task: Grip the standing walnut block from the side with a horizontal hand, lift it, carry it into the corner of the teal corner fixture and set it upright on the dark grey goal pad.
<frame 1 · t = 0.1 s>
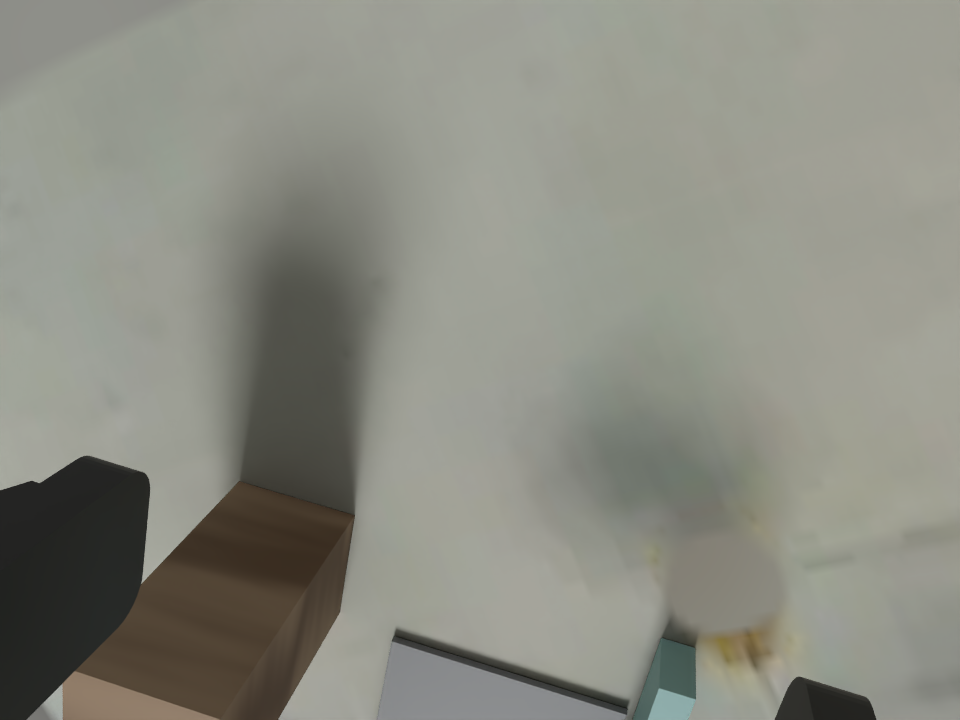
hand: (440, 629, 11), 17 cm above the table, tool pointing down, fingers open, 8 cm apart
walnut block: (290, 548, 33), on the table
teal corner fixture: (417, 716, 34), on the table
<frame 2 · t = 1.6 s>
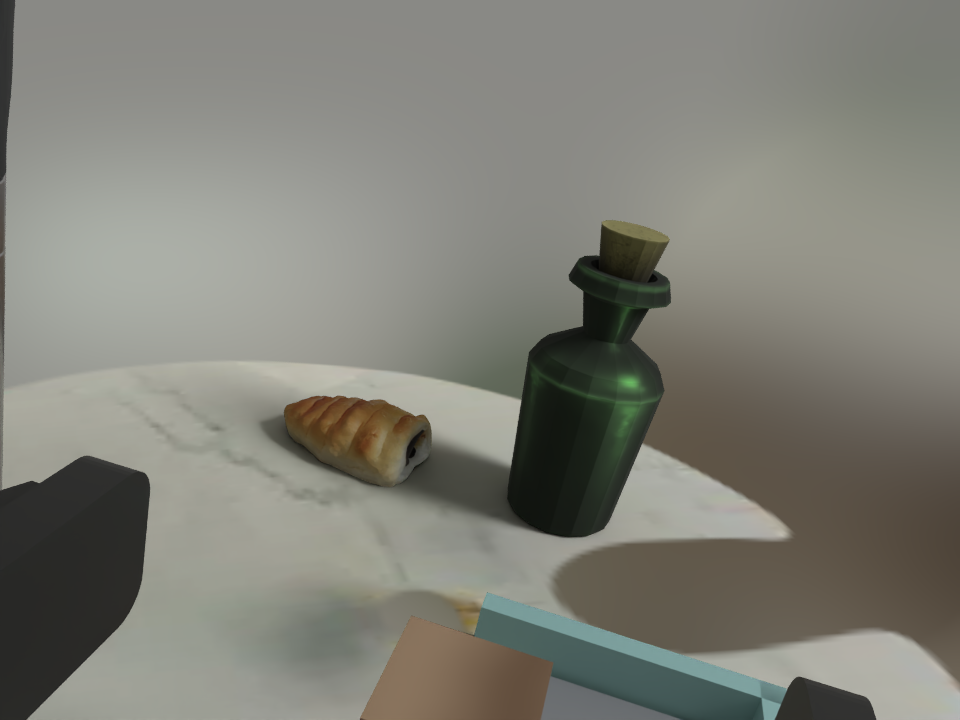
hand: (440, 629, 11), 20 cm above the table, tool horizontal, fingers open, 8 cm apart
pastry: (358, 459, 56), on the table
potion bottle: (556, 511, 55), on the table
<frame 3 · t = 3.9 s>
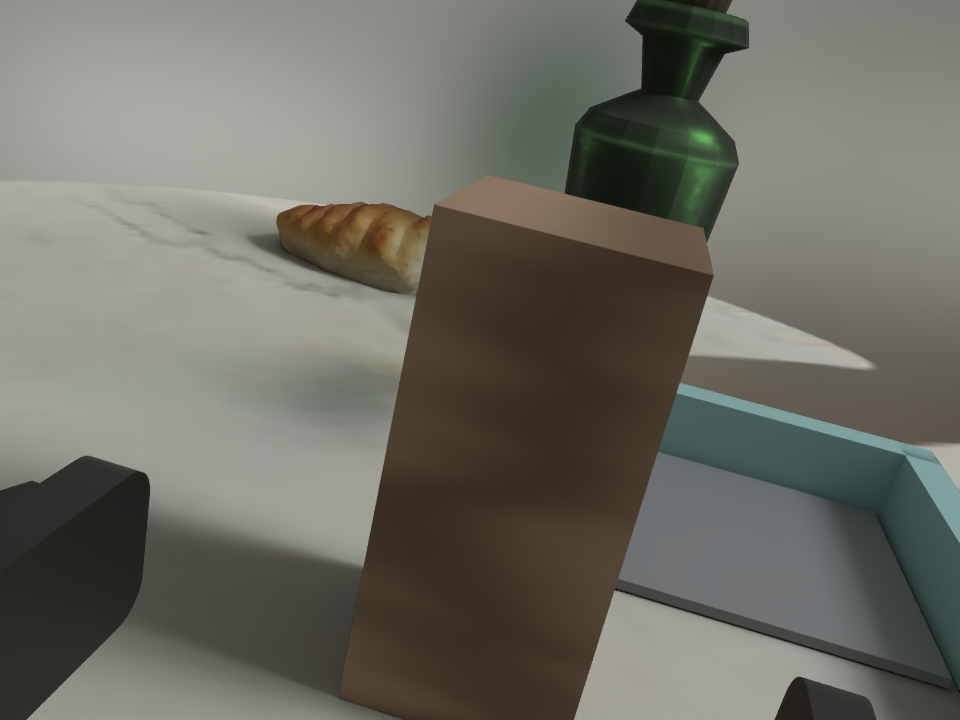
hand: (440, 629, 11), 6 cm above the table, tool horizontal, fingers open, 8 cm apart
walnut block: (470, 661, 19), on the table
teal corner fixture: (726, 591, 24), on the table
pastry: (367, 275, 47), on the table
potion bottle: (605, 327, 46), on the table
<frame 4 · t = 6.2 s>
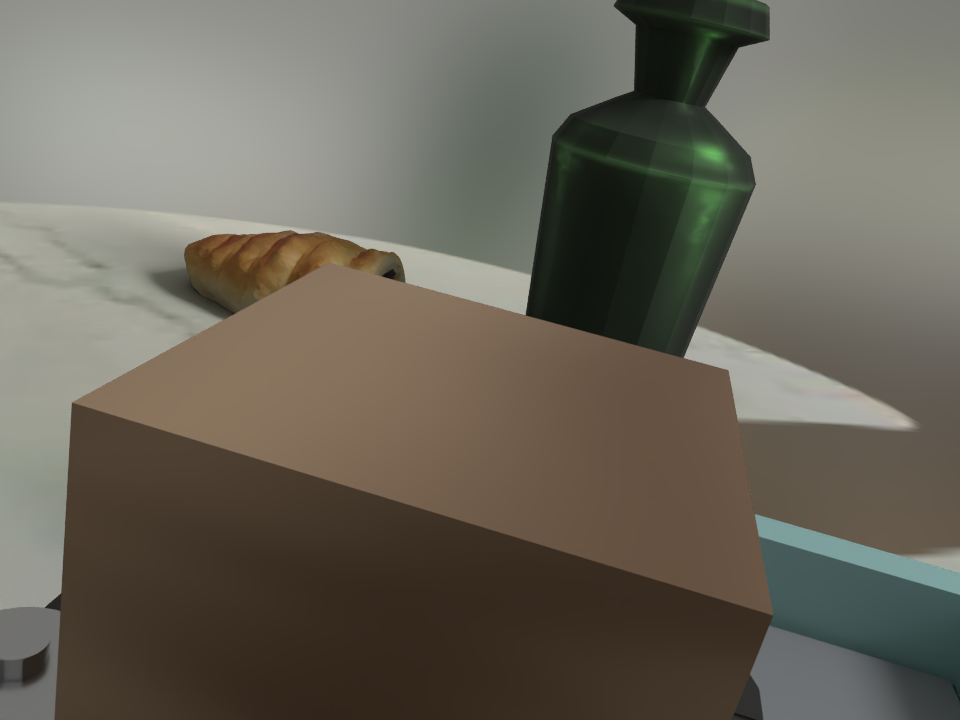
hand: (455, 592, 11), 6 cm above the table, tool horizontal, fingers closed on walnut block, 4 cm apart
pastry: (298, 321, 38), on the table
potion bottle: (590, 382, 38), on the table
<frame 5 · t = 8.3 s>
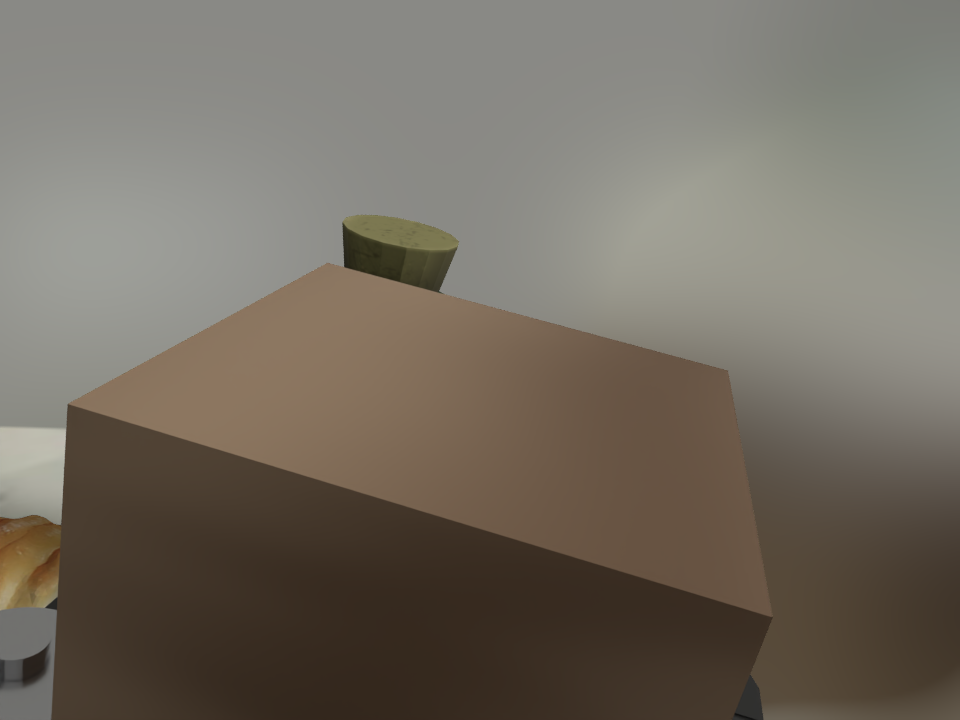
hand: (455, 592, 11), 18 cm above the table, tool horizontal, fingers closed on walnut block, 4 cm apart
potion bottle: (320, 675, 35), on the table
when the fingers open (7 cm above the table, at t = 10.7 s): walnut block drops 1 cm, resting on teal corner fixture.
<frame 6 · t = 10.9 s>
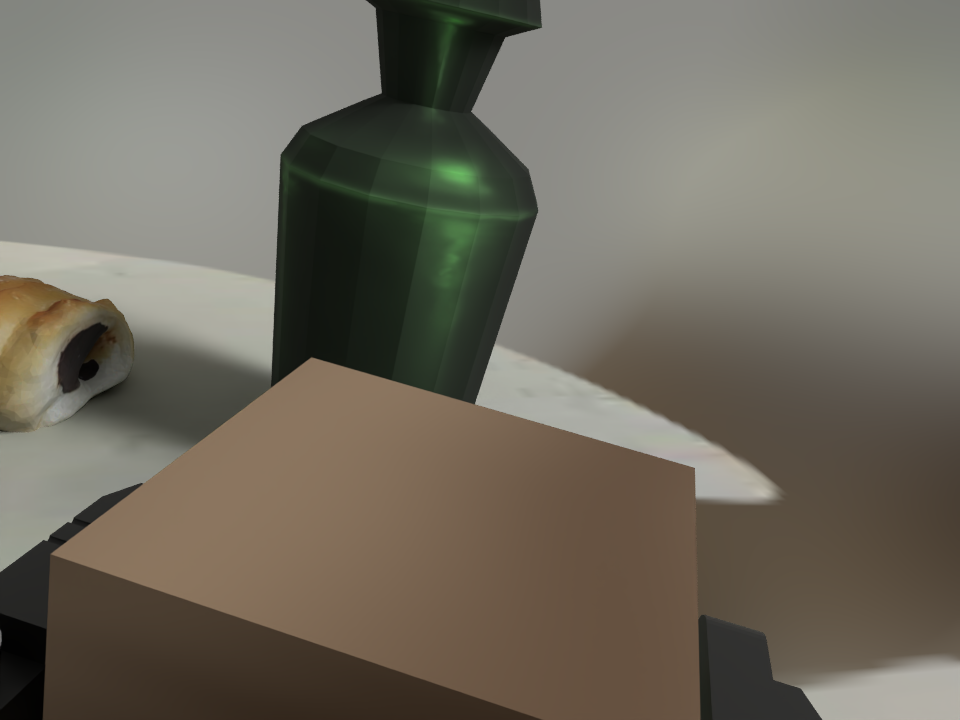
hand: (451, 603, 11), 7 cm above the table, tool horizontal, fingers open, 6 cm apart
potion bottle: (363, 450, 31), on the table
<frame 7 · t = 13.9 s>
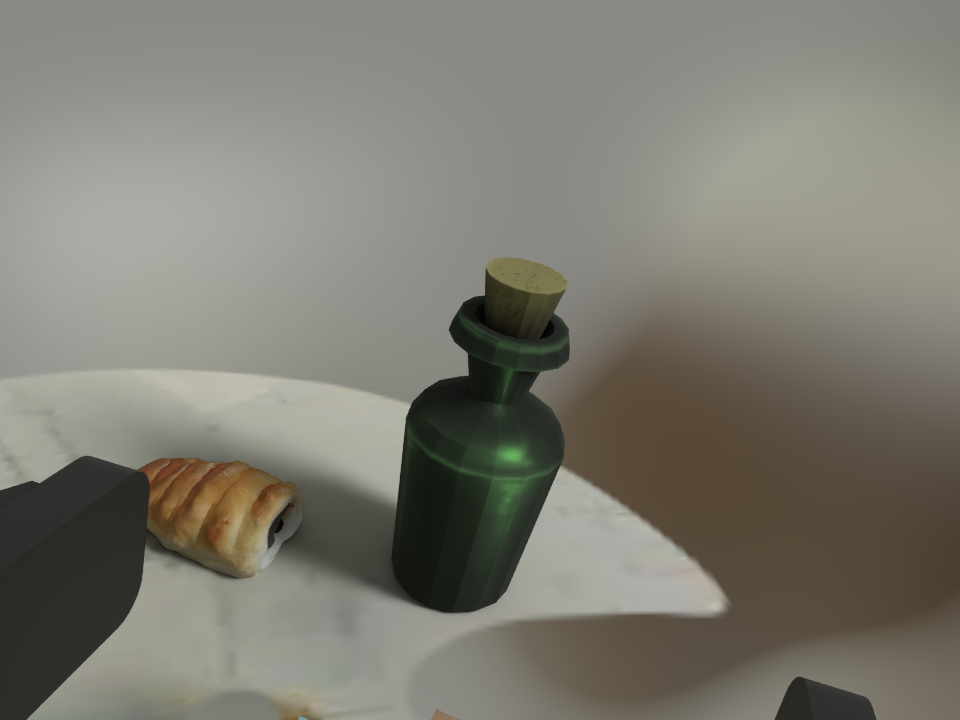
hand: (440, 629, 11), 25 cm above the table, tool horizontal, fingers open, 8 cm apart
pastry: (215, 535, 47), on the table
potion bottle: (449, 574, 48), on the table
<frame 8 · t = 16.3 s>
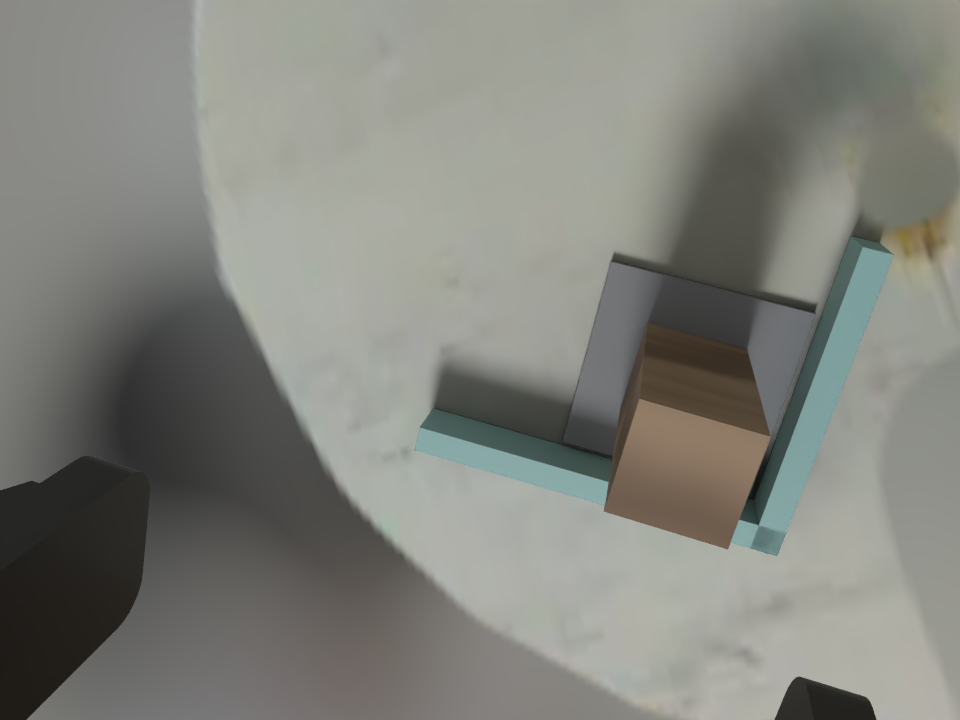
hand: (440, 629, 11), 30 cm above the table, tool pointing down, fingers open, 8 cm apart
walnut block: (681, 381, 40), resting on teal corner fixture
teal corner fixture: (623, 341, 40), on the table
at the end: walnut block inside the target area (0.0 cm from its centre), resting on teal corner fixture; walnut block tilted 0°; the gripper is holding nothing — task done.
